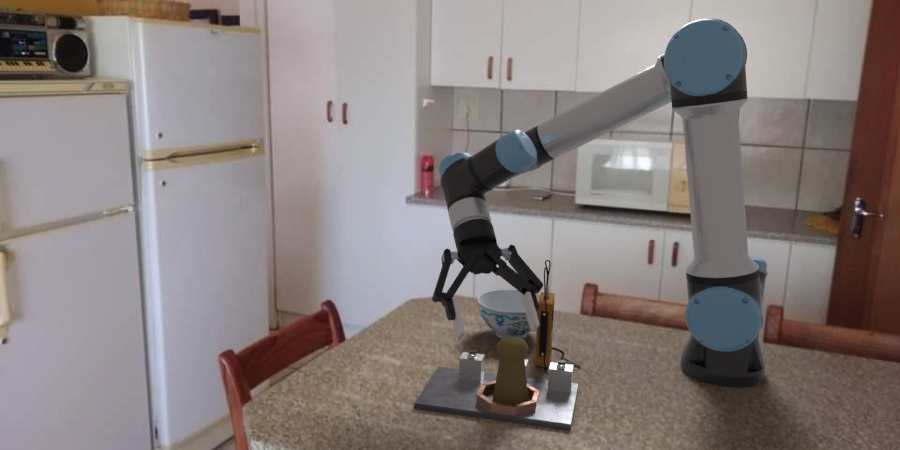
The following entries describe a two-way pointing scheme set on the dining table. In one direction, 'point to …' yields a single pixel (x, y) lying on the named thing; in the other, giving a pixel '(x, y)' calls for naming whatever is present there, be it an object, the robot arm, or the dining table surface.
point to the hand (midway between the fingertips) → (498, 332)
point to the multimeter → (546, 327)
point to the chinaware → (505, 312)
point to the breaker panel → (475, 391)
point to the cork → (511, 372)
